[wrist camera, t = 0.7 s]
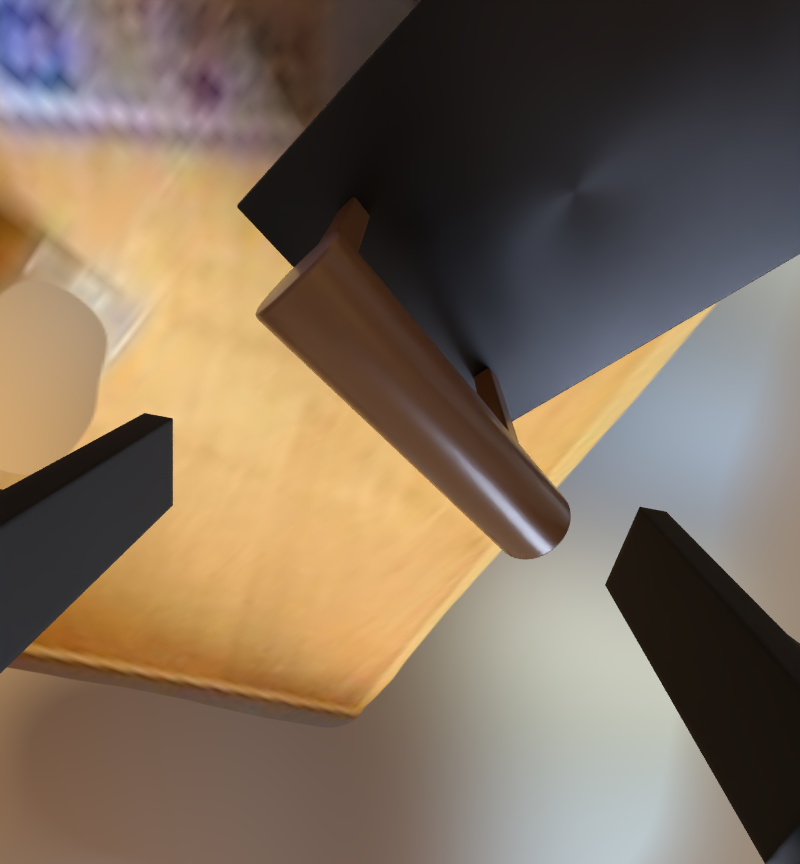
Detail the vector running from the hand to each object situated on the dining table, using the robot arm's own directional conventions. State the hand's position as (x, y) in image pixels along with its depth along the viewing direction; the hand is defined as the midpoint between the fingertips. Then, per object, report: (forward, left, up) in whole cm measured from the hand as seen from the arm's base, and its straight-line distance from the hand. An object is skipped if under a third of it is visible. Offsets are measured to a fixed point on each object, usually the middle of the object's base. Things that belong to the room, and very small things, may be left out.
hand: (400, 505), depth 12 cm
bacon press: (-7, +5, -6) cm, 11 cm away
